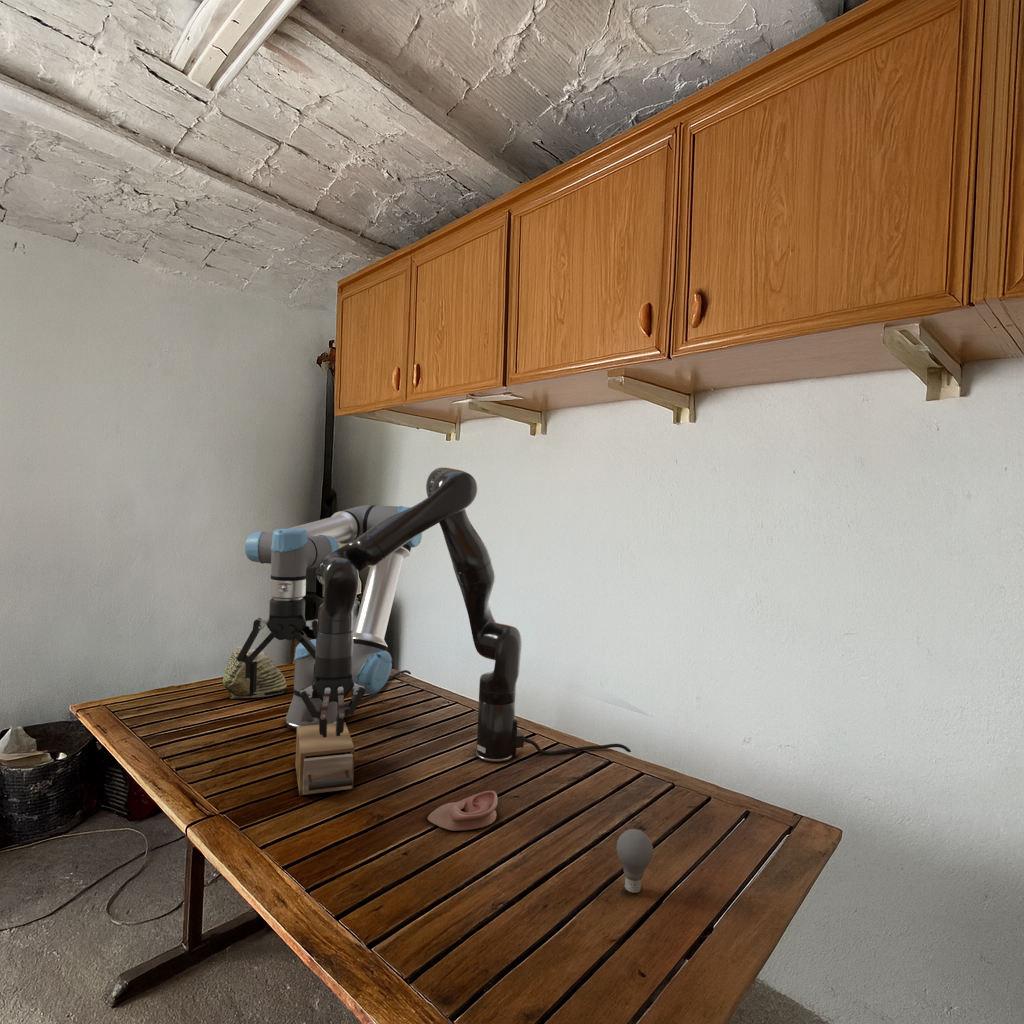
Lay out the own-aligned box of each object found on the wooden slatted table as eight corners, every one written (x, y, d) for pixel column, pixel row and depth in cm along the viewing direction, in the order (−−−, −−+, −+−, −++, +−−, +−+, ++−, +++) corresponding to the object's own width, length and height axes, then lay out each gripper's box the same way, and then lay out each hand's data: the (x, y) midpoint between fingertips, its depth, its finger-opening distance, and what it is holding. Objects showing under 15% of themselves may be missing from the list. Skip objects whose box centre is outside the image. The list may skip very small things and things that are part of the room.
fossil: (218, 695, 195) (220, 647, 195) (278, 685, 208) (279, 640, 207) (228, 703, 189) (230, 653, 188) (289, 692, 201) (290, 645, 201)
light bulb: (610, 879, 108) (613, 822, 108) (644, 879, 109) (647, 822, 109) (619, 902, 102) (622, 840, 102) (655, 901, 103) (658, 840, 103)
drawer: (355, 801, 131) (356, 766, 131) (304, 807, 127) (306, 772, 127) (343, 760, 150) (344, 730, 150) (298, 765, 146) (300, 734, 146)
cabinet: (353, 788, 138) (354, 747, 138) (299, 795, 134) (300, 753, 134) (343, 759, 153) (345, 722, 153) (295, 764, 149) (296, 726, 149)
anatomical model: (422, 806, 123) (441, 781, 134) (422, 826, 123) (440, 799, 134) (489, 816, 120) (502, 789, 132) (488, 836, 121) (501, 808, 132)
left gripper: (223, 599, 136) (220, 697, 137) (342, 601, 140) (339, 697, 140) (234, 594, 144) (231, 686, 144) (346, 596, 147) (343, 686, 148)
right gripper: (300, 658, 125) (296, 745, 125) (371, 655, 130) (367, 738, 130) (298, 649, 132) (295, 732, 132) (365, 646, 137) (362, 726, 137)
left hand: (284, 692), depth 142 cm, fingers open, 13 cm apart
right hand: (331, 735), depth 131 cm, fingers closed
